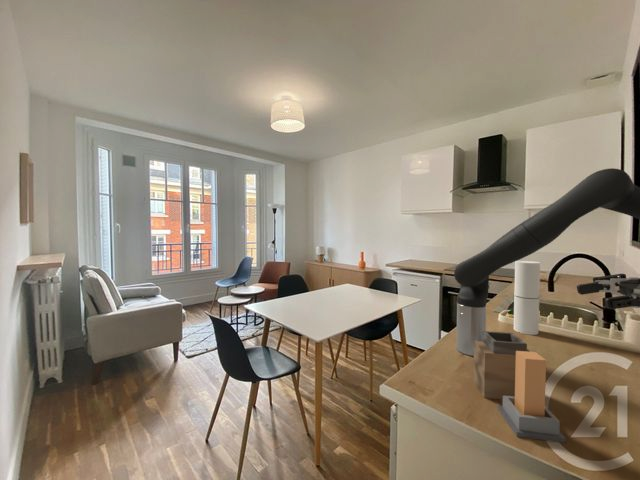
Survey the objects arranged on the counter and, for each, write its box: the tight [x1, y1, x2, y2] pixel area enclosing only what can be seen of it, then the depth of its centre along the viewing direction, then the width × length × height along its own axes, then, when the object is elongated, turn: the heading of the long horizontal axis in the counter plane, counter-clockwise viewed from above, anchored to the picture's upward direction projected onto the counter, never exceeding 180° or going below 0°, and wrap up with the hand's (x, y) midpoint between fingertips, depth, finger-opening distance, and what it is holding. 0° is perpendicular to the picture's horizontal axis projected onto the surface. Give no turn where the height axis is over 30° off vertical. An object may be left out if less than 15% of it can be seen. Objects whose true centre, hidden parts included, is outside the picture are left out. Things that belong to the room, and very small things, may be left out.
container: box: [513, 260, 541, 336], centre depth 117 cm, size 9×9×30 cm
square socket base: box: [472, 330, 531, 400], centre depth 74 cm, size 8×12×15 cm, turn 79°
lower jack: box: [497, 396, 566, 443], centre depth 62 cm, size 9×9×4 cm
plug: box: [515, 351, 547, 417], centre depth 62 cm, size 4×4×15 cm
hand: (591, 296), depth 60 cm, fingers open, 8 cm apart
